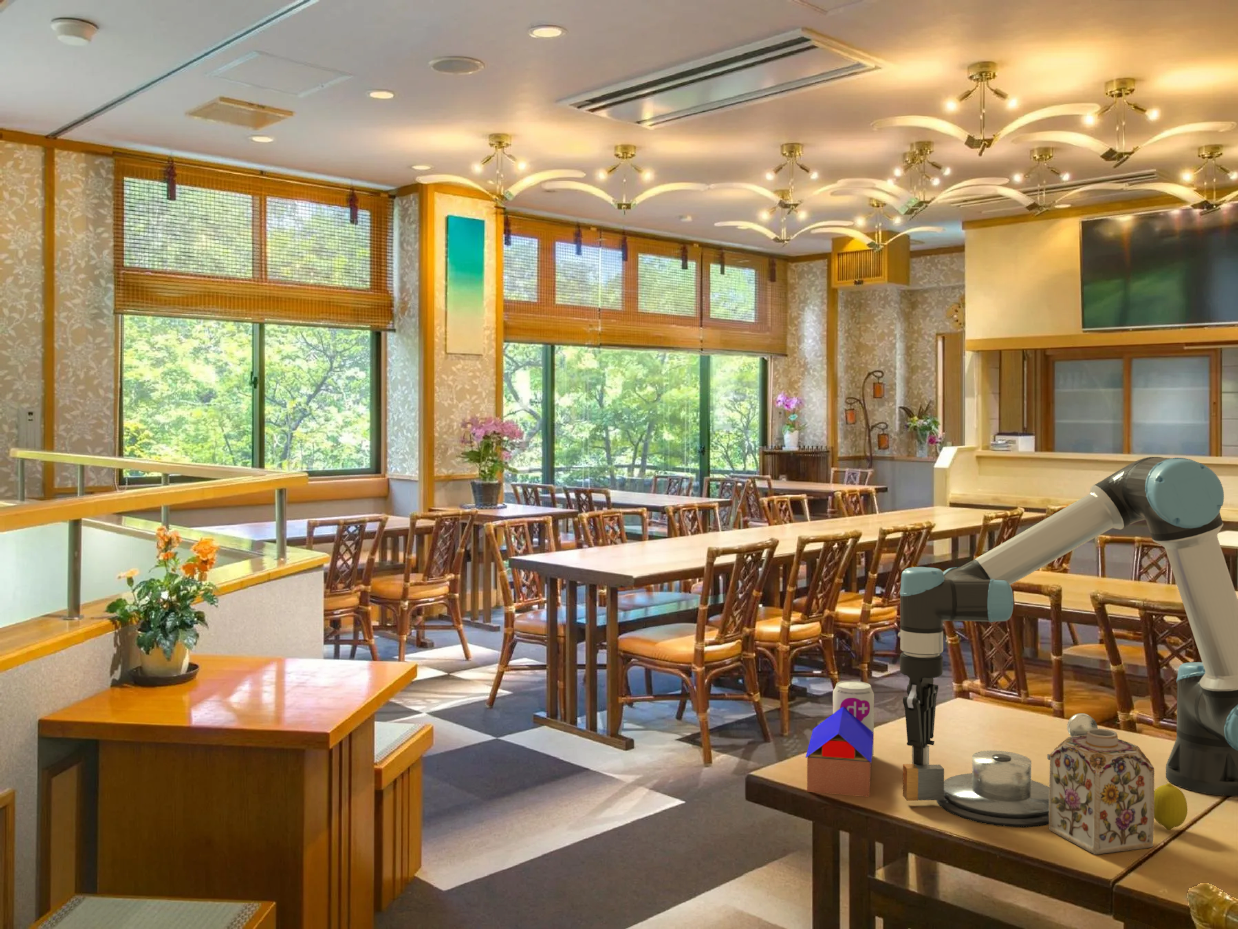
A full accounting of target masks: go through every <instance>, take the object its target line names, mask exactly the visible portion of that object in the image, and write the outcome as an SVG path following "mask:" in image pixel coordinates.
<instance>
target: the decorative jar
mask: <svg viewBox="0 0 1238 929" xmlns="http://www.w3.org/2000/svg"><path fill="white" fill-rule="evenodd" d="M1048 780H1049V782H1048V784H1049V785H1048V787H1049V825H1048V830H1049V831H1050V832H1052V833H1055V834H1056V835H1058V836H1059V837H1061V838H1063V839H1065V840H1067V841H1068V842H1070V843H1073V844H1074V845H1076V846H1078V847H1080V848H1081V849H1083V850H1086V851H1087V852H1089V853H1091V854H1093V855H1095V856H1097V855H1105V854H1111V853H1118V852H1126V851H1133V850H1134V851H1136V850H1140V849H1141V850H1143V849H1149V848H1153V847H1154V838H1155V837H1154V835H1155V834H1154V831H1155V818H1154V791H1155V767H1154V765H1153V764H1152V762H1151V761H1150V760H1149V758H1148V757H1147V755H1146V754H1145V753H1144V752H1143V751H1142V749H1141V748H1140V747H1139V746H1138V745H1136V744H1134V743H1131V742H1128V741H1126V740H1123V739H1119V736H1118V733H1117V731H1114V730H1111V729H1106V728H1098V729H1090V730H1088V731H1087V735H1082V736H1072V737H1071V736H1069V737H1067V738H1065V739H1064V740H1063V741H1062V742H1061V743H1059V744H1058V746H1056V747H1055V748H1054V749H1053V750H1052V751H1051V753H1050V760H1049V779H1048Z"/></svg>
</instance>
